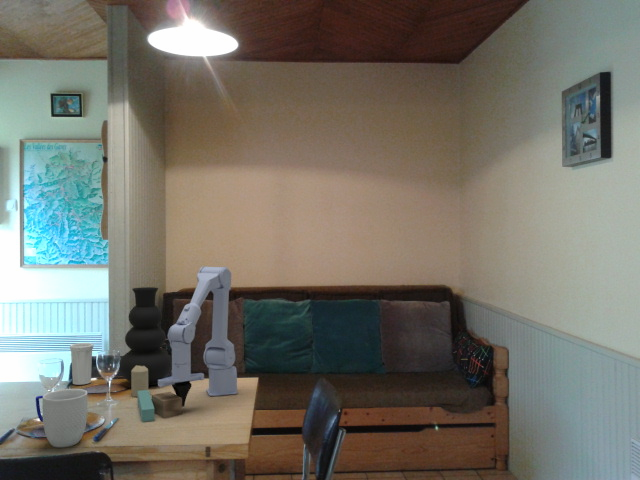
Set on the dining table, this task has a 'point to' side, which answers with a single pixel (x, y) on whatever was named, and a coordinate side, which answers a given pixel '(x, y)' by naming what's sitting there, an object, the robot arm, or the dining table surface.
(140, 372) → the candle
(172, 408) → the block
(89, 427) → the dining table surface
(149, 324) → the vase
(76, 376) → the cup
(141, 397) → the teal rectangular bar
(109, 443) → the dining table surface
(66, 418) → the mug
